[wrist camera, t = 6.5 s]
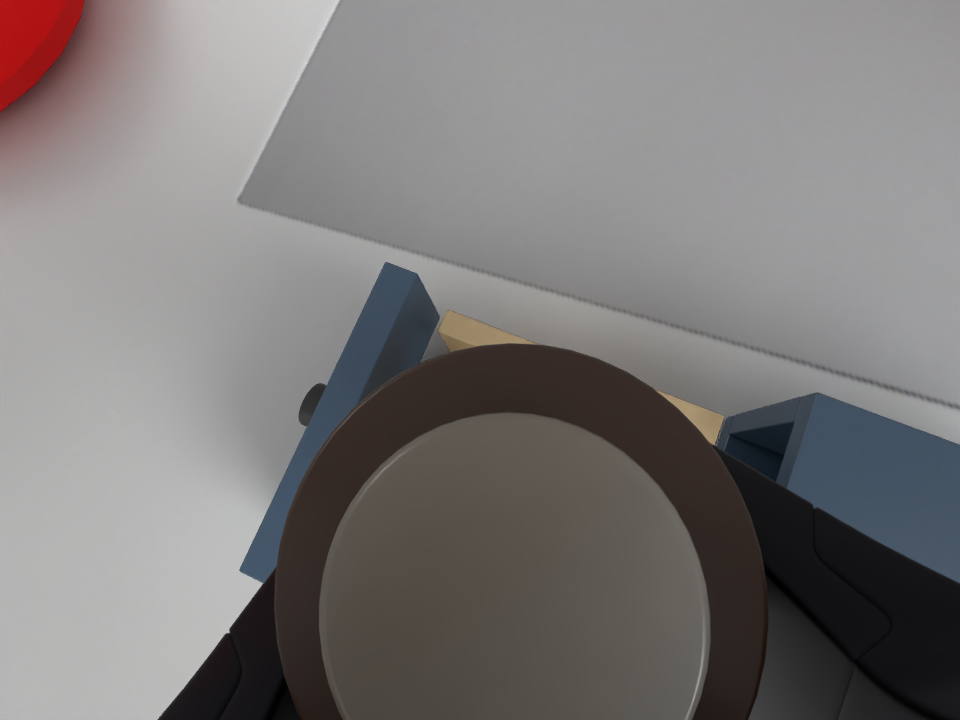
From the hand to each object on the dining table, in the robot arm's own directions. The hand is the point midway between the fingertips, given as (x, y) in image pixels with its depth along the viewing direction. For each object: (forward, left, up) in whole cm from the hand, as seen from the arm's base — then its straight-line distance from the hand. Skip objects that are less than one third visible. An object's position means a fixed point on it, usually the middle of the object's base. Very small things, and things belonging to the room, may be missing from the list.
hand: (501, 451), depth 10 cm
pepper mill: (-1, +1, -5) cm, 6 cm away
